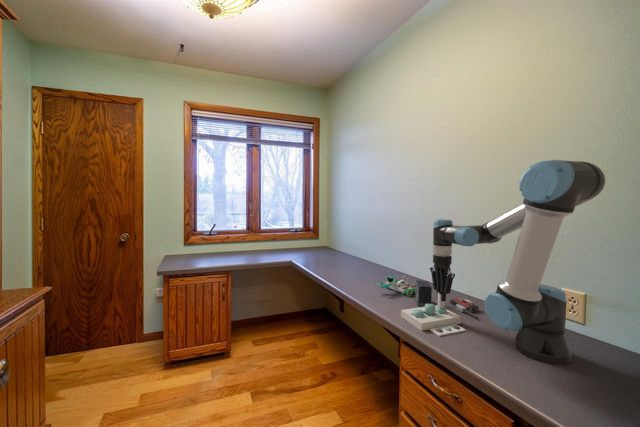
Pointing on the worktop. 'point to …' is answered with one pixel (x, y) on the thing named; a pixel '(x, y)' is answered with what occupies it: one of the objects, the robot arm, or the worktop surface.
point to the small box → (423, 293)
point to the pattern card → (447, 330)
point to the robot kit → (399, 285)
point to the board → (430, 319)
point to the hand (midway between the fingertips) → (441, 307)
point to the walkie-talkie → (465, 306)
